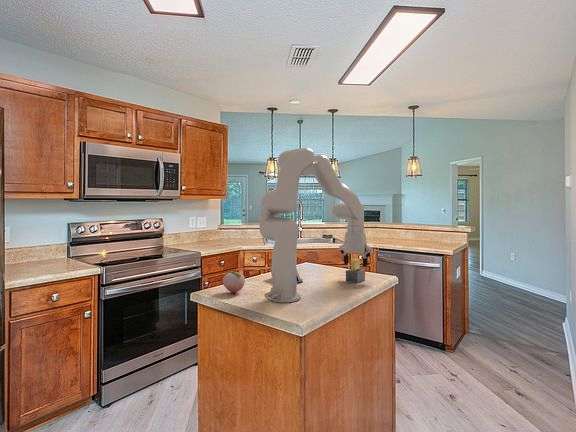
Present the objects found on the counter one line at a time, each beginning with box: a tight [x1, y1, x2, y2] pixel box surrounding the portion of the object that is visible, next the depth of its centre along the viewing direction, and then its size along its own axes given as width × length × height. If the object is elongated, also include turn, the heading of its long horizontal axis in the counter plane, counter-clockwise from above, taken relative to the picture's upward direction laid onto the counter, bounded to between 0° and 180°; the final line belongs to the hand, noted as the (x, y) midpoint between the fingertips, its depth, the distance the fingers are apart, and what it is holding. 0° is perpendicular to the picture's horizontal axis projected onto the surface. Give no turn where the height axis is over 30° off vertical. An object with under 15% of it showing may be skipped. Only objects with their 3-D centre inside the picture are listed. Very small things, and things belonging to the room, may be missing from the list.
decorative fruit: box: [222, 268, 246, 294], centre depth 140 cm, size 9×8×10 cm
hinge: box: [269, 265, 304, 285], centre depth 161 cm, size 17×5×10 cm, turn 44°
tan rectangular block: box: [350, 258, 361, 271], centre depth 160 cm, size 4×2×10 cm, turn 142°
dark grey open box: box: [345, 268, 366, 284], centre depth 160 cm, size 8×6×5 cm
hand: (355, 265), depth 160 cm, fingers open, 9 cm apart
